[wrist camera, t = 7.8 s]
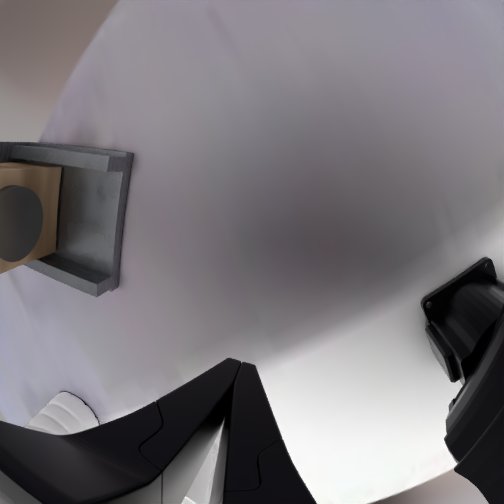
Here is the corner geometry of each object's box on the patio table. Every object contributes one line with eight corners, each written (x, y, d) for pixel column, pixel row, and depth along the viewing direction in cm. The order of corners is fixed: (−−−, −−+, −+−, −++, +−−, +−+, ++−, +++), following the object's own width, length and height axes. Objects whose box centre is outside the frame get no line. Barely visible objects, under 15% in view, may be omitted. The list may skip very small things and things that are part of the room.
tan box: (72, 168, 20) (-11, 174, 12) (65, 255, 22) (-8, 286, 14) (26, 161, 21) (-46, 167, 13) (21, 238, 22) (-45, 260, 15)
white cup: (152, 382, 25) (97, 458, 15) (239, 402, 24) (208, 497, 14) (160, 436, 27) (120, 506, 17) (234, 455, 26) (209, 535, 16)
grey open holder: (133, 153, 20) (56, 149, 12) (118, 287, 23) (52, 330, 15) (27, 141, 21) (-40, 142, 14) (20, 248, 24) (-40, 270, 17)
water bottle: (52, 402, 29) (-60, 517, 6) (65, 382, 28) (-70, 516, 4) (103, 448, 30) (9, 579, 6) (122, 434, 28) (14, 590, 4)
